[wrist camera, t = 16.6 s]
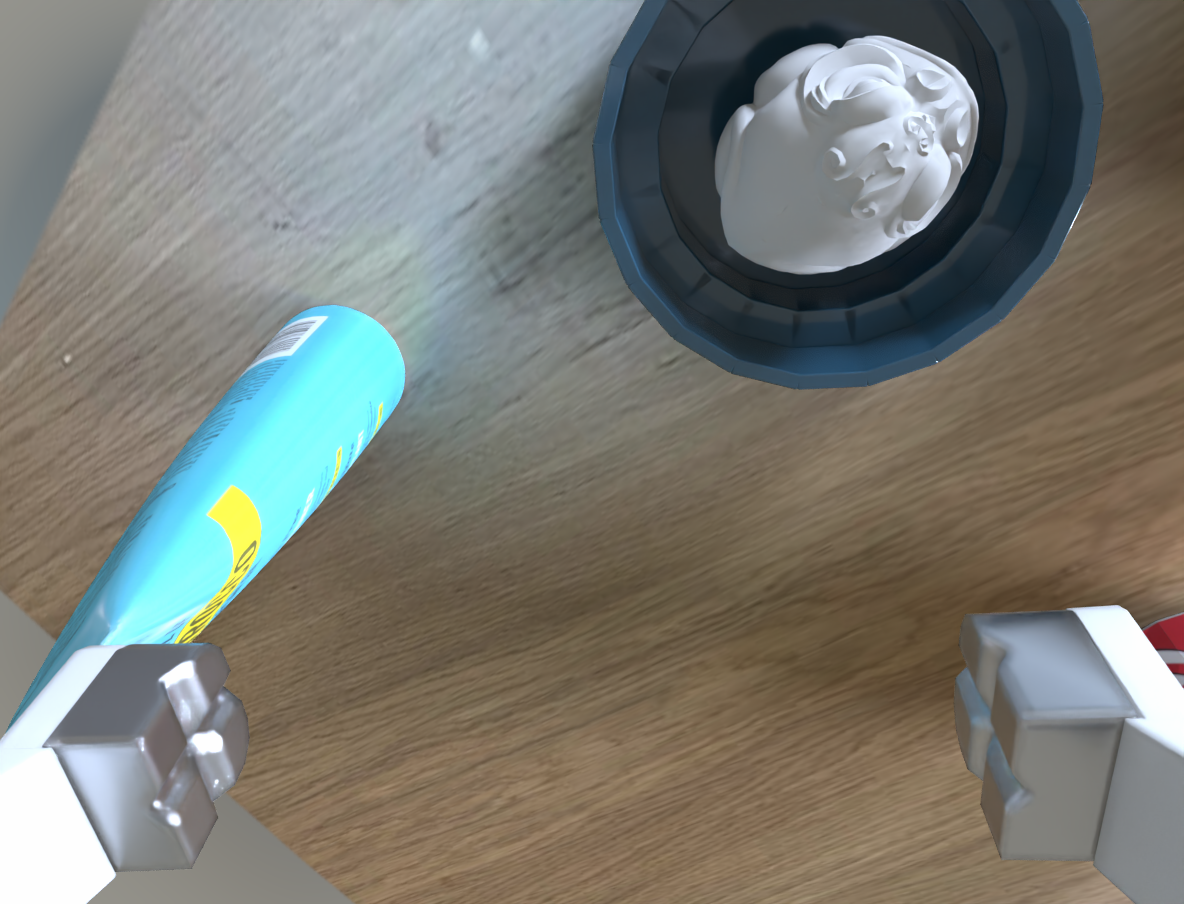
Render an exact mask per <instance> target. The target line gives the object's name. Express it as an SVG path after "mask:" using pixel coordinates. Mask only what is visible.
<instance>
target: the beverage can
mask: <svg viewBox="0 0 1184 904" xmlns="http://www.w3.org/2000/svg"><path fill="white" fill-rule="evenodd" d="M1141 630H1142V632H1143V633H1144V634H1145V636H1146V637H1147V639H1148V640H1149V641H1150V643H1151V644H1152V646H1153V647H1154V648H1155V650H1156V651H1157V653H1158V654H1159V655H1160V657H1161V658H1162V660H1163V661H1164V663H1165V664H1166V665H1167V667H1168V668H1169V670H1170V671H1171V672H1172V674H1173V675H1174V677H1175V678H1176V679H1177V681H1178V682H1179V684H1180V685H1181V686H1182V688H1183V689H1184V612H1182V613H1179V614H1176V615H1173V616H1169V617H1166V618H1163V619H1160V620H1157V621H1155V622H1153V623H1151V624H1150V625H1148V626H1146V627H1144V628H1143V629H1141Z"/></svg>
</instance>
